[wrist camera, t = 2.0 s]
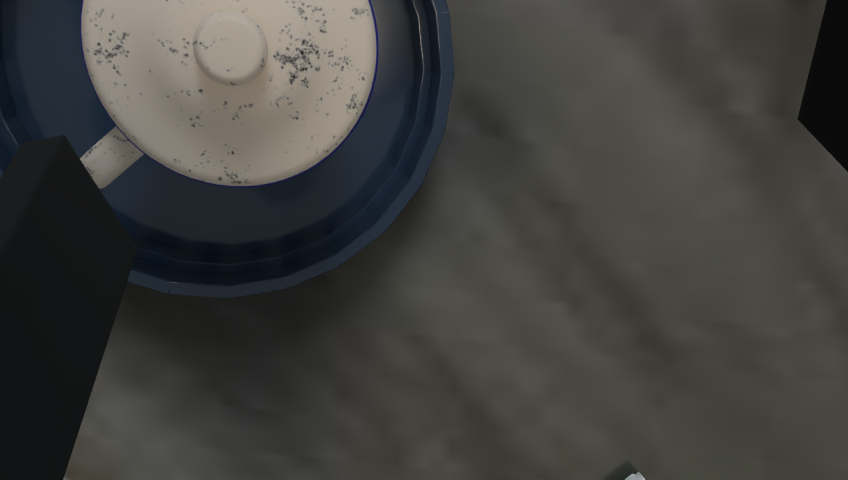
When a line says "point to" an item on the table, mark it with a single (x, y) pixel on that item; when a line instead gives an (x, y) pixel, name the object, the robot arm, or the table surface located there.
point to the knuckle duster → (635, 477)
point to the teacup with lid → (227, 84)
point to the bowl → (230, 206)
